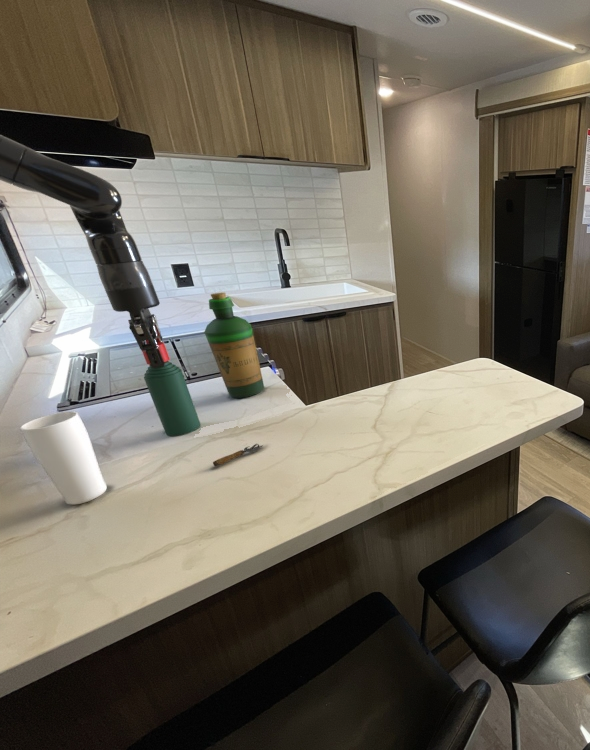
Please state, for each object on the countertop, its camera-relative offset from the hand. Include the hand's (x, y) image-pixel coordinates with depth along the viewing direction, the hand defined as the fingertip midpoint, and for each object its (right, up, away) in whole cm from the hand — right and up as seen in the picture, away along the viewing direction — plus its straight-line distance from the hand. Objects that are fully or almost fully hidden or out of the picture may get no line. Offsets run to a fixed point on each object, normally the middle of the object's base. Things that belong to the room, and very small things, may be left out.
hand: (160, 364), depth 88 cm
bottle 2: (+3, -8, +26) cm, 27 cm away
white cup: (+2, -24, -17) cm, 30 cm away
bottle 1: (+1, -15, +6) cm, 16 cm away
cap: (0, +1, 0) cm, 1 cm away
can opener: (+23, -19, -8) cm, 30 cm away
